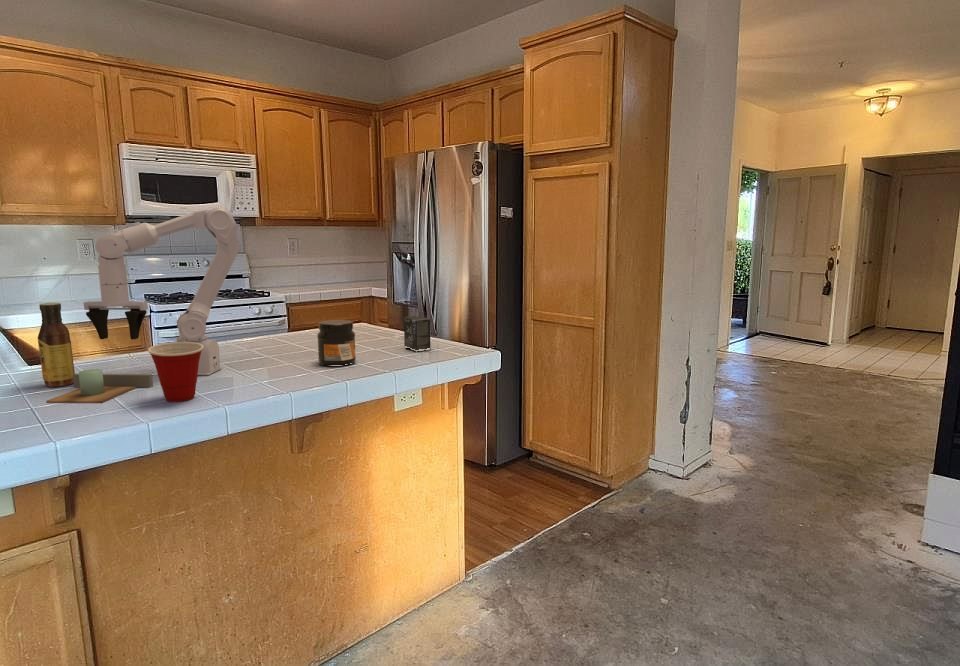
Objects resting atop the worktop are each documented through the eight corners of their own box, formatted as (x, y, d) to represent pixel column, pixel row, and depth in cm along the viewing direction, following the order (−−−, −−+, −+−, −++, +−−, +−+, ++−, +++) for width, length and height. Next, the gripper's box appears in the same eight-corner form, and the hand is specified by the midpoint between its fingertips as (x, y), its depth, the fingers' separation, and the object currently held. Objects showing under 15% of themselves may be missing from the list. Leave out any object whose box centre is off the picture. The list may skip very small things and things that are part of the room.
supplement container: (351, 367, 156) (349, 325, 155) (313, 367, 157) (311, 324, 155) (359, 359, 167) (358, 319, 165) (324, 359, 167) (323, 319, 165)
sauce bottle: (48, 382, 138) (39, 302, 134) (79, 380, 140) (70, 301, 137) (39, 389, 132) (29, 305, 128) (71, 387, 134) (61, 304, 131)
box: (403, 348, 184) (403, 316, 183) (419, 346, 188) (418, 315, 186) (415, 352, 178) (415, 319, 176) (431, 350, 181) (430, 318, 179)
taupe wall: (153, 386, 135) (152, 374, 135) (150, 387, 134) (149, 375, 134) (77, 385, 135) (76, 373, 135) (74, 387, 134) (72, 374, 133)
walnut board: (135, 388, 133) (135, 386, 133) (102, 402, 121) (102, 401, 121) (84, 388, 133) (84, 386, 133) (46, 402, 121) (46, 400, 121)
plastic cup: (157, 409, 117) (152, 352, 115) (148, 397, 126) (143, 345, 124) (213, 400, 124) (209, 346, 122) (200, 389, 132) (196, 339, 131)
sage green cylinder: (107, 389, 130) (104, 368, 129) (101, 395, 126) (98, 373, 125) (85, 390, 129) (82, 369, 128) (78, 396, 124) (75, 374, 124)
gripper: (153, 283, 142) (157, 336, 144) (95, 282, 141) (100, 335, 144) (136, 285, 135) (141, 341, 137) (75, 284, 134) (81, 340, 137)
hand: (119, 338), depth 140 cm, fingers open, 7 cm apart
